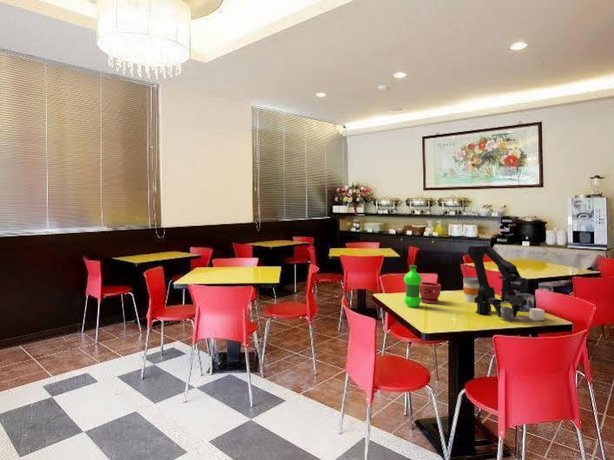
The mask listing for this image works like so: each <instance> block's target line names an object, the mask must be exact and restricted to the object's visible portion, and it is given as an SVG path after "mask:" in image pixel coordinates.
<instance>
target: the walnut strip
mask: <svg viewBox="0 0 614 460" xmlns="http://www.w3.org/2000/svg"><path fill="white" fill-rule="evenodd" d="M511 308H512V307H509V306H502V307H501V317H500V318H501V319H503V320H505V321H507V322H508V323H550V322H551V323H553V322H554V323H555V322H556V321H554V320H552V319H549V318H547V317H546V316H544V320H534V319H532V318H529V315H516V317H513V309H511Z"/></svg>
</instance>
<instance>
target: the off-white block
mask: <svg viewBox="0 0 614 460" xmlns="http://www.w3.org/2000/svg"><path fill="white" fill-rule="evenodd" d="M528 316H529V318H532V319H534V320H544V317H545V310H544V309H542V308H540V307H534V308H530V311H529V315H528Z"/></svg>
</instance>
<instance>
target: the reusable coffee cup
mask: <svg viewBox="0 0 614 460" xmlns="http://www.w3.org/2000/svg"><path fill="white" fill-rule="evenodd" d="M462 283H463V286H462V287H463V293H464V300H465V302H468V303H473V304H474V303H475V300H474V299H475V298H476V297H477V296H478V289H479V282H478V278H477V276H464V277H463V280H462ZM475 304H476V303H475Z"/></svg>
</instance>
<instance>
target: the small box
mask: <svg viewBox="0 0 614 460" xmlns="http://www.w3.org/2000/svg"><path fill="white" fill-rule="evenodd" d="M516 295H517V296H519V295H522V296H523V297H524V299H526V300H527V305H524V306H522V307H521V308H520V309H519V310H518V312H530V308H535V295H534V294H531V293H528V292H518V293H516ZM510 308H511V309H513V305H511V307H510Z"/></svg>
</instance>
